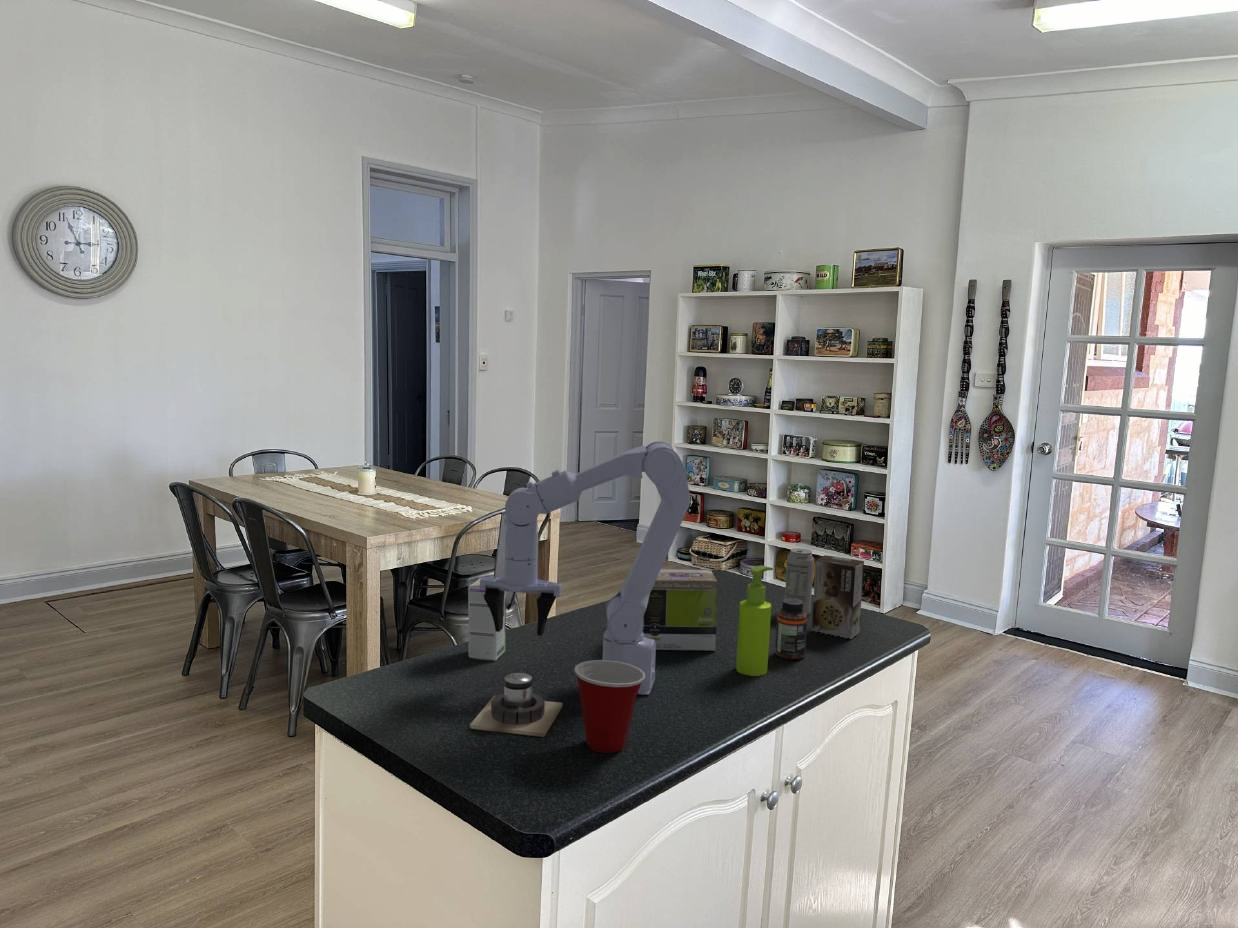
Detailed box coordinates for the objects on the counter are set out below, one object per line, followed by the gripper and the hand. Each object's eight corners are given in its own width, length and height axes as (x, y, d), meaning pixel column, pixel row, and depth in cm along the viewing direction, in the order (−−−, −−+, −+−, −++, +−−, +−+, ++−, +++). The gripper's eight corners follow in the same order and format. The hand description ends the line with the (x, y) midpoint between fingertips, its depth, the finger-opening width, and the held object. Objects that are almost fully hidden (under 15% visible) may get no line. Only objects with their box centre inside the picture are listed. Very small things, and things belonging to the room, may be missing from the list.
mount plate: (562, 706, 148) (562, 691, 148) (543, 736, 136) (544, 720, 136) (493, 698, 150) (494, 684, 150) (469, 728, 138) (470, 712, 138)
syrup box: (496, 661, 167) (497, 587, 165) (466, 658, 169) (467, 584, 167) (506, 651, 173) (507, 579, 171) (477, 648, 174) (478, 576, 172)
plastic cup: (656, 750, 133) (660, 674, 131) (595, 767, 127) (598, 687, 125) (617, 723, 142) (620, 652, 140) (559, 737, 136) (561, 663, 134)
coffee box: (860, 632, 193) (865, 560, 191) (851, 640, 187) (856, 566, 185) (820, 624, 198) (825, 553, 195) (810, 631, 192) (814, 559, 190)
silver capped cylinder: (534, 708, 145) (535, 673, 144) (527, 720, 141) (528, 684, 140) (507, 706, 146) (508, 671, 145) (500, 717, 141) (500, 681, 140)
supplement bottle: (782, 648, 181) (785, 594, 179) (809, 654, 177) (813, 600, 176) (769, 656, 176) (773, 601, 174) (797, 663, 172) (801, 607, 171)
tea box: (709, 636, 187) (712, 568, 185) (715, 652, 177) (719, 581, 175) (638, 634, 186) (641, 566, 184) (641, 650, 176) (644, 578, 174)
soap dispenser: (776, 669, 169) (782, 567, 166) (755, 678, 164) (762, 573, 161) (750, 661, 172) (756, 561, 170) (729, 669, 167) (735, 567, 165)
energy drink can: (814, 614, 205) (819, 551, 203) (801, 619, 200) (806, 555, 198) (792, 608, 209) (796, 546, 207) (778, 613, 204) (782, 550, 202)
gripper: (474, 559, 152) (473, 635, 153) (556, 565, 149) (553, 642, 151) (487, 549, 158) (486, 622, 160) (565, 556, 156) (563, 630, 158)
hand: (519, 631), depth 156 cm, fingers open, 7 cm apart
